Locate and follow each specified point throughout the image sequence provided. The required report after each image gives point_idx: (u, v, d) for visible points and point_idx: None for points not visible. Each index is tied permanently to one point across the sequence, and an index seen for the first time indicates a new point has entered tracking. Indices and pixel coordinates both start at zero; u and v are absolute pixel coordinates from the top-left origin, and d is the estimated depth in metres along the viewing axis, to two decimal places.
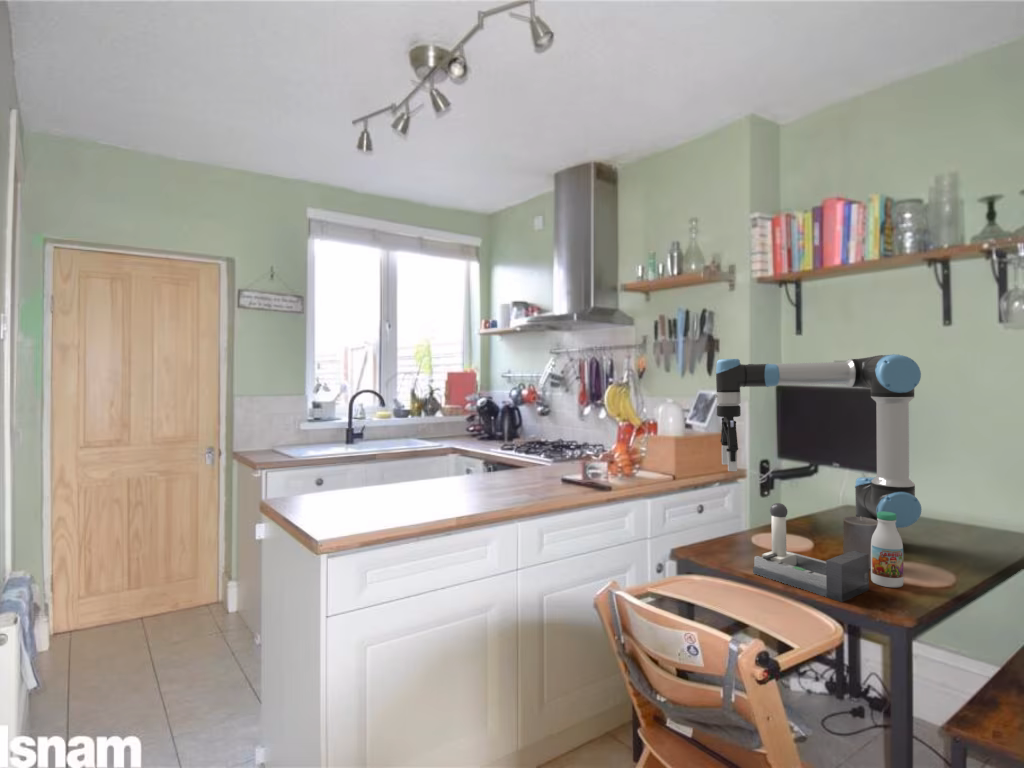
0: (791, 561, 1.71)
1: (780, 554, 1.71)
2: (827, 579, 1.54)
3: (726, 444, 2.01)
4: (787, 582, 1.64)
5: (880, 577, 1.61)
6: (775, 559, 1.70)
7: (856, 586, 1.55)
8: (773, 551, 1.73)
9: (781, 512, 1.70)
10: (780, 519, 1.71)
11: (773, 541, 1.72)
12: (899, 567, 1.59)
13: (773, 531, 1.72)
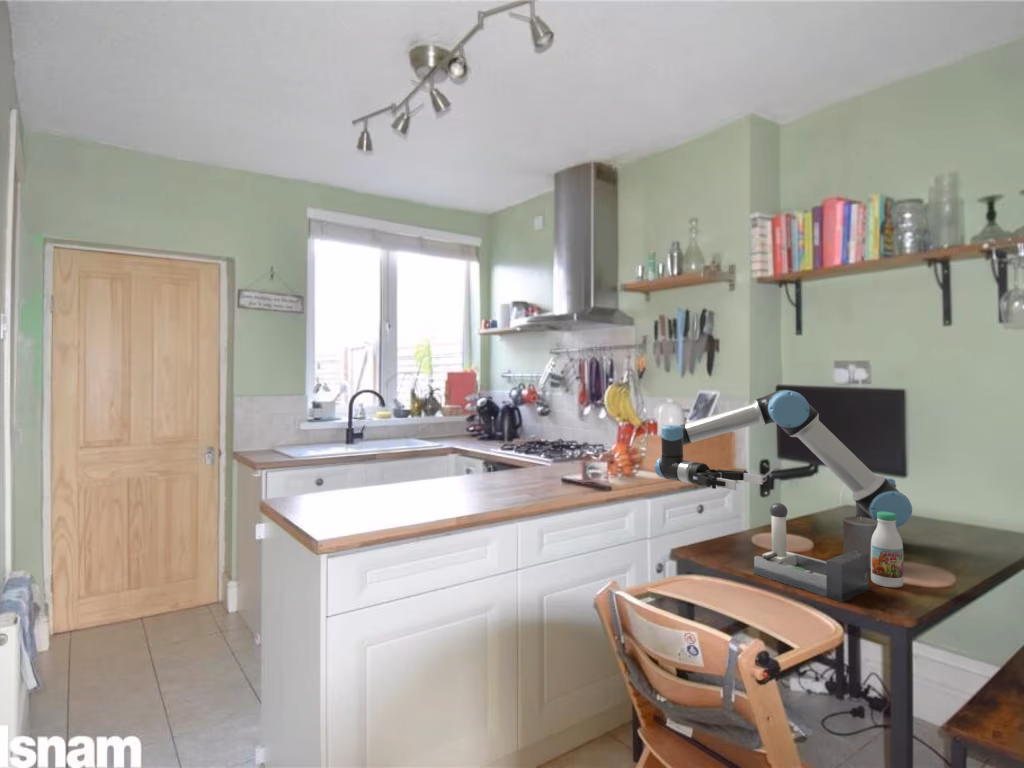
0: (791, 561, 1.71)
1: (780, 554, 1.71)
2: (827, 579, 1.54)
3: (743, 476, 1.90)
4: (787, 582, 1.64)
5: (880, 577, 1.61)
6: (775, 559, 1.70)
7: (856, 586, 1.55)
8: (773, 551, 1.73)
9: (781, 512, 1.70)
10: (780, 519, 1.71)
11: (773, 541, 1.72)
12: (899, 567, 1.59)
13: (773, 531, 1.72)
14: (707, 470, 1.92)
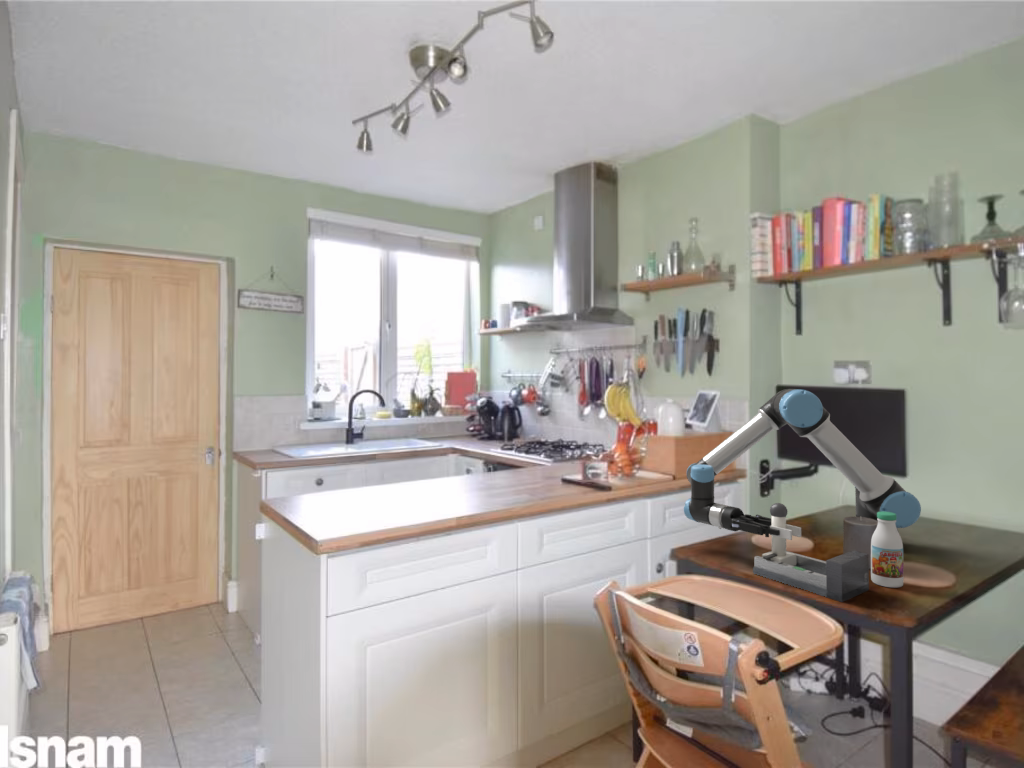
0: (791, 561, 1.71)
1: (780, 554, 1.71)
2: (827, 579, 1.54)
3: None
4: (787, 582, 1.64)
5: (880, 577, 1.61)
6: (775, 559, 1.70)
7: (856, 586, 1.55)
8: (773, 551, 1.73)
9: (781, 512, 1.70)
10: (780, 519, 1.71)
11: (773, 541, 1.72)
12: (899, 567, 1.59)
13: None
14: (742, 516, 1.82)
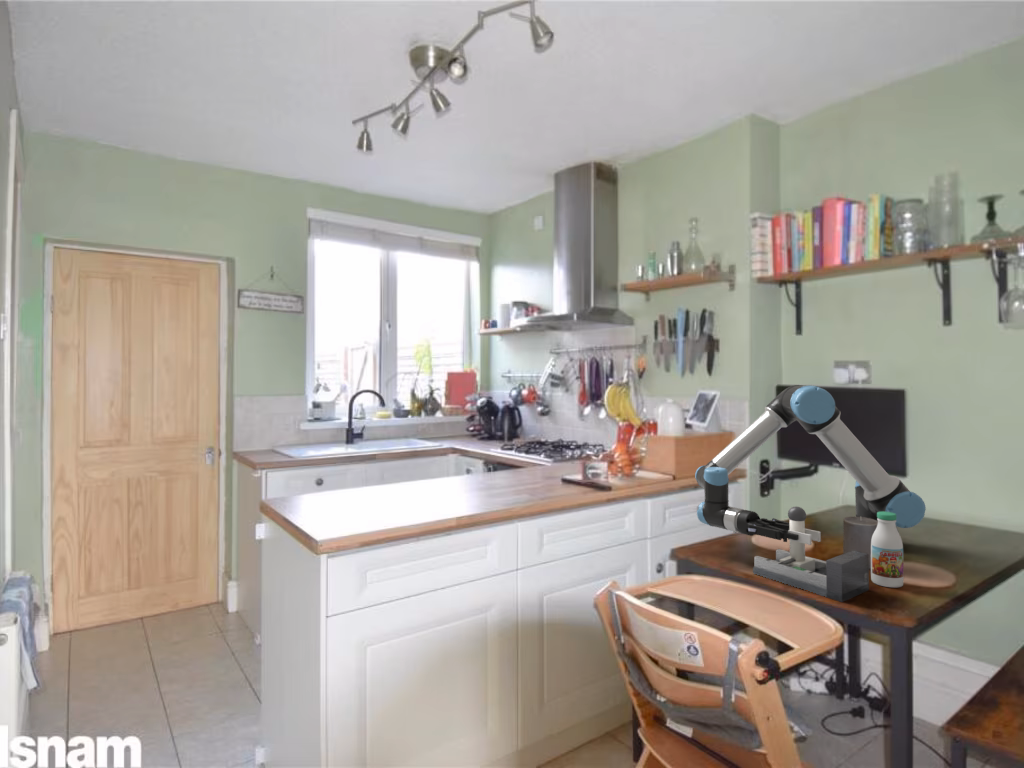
0: (810, 566, 1.67)
1: (799, 559, 1.66)
2: (827, 579, 1.54)
3: None
4: (787, 582, 1.64)
5: (880, 577, 1.61)
6: (794, 564, 1.65)
7: (856, 586, 1.55)
8: (791, 556, 1.68)
9: (800, 516, 1.66)
10: (799, 523, 1.66)
11: (791, 546, 1.68)
12: (899, 567, 1.59)
13: None
14: (758, 520, 1.77)
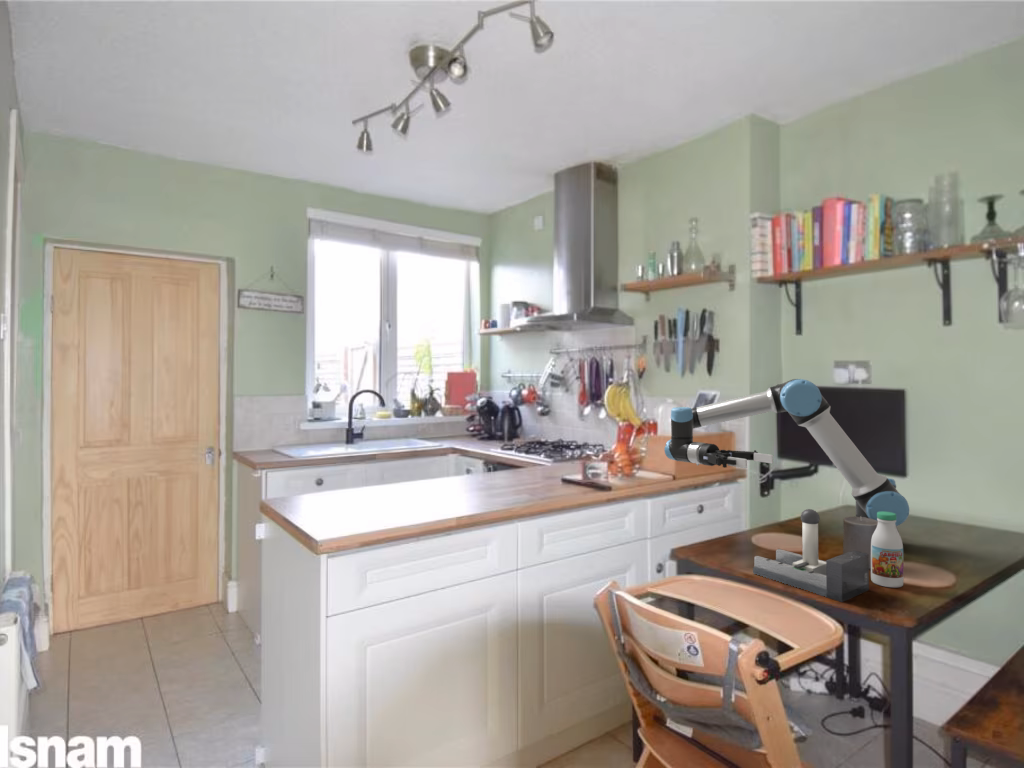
0: (823, 570, 1.63)
1: (812, 563, 1.63)
2: (827, 579, 1.54)
3: (753, 455, 1.92)
4: (787, 582, 1.64)
5: (880, 577, 1.61)
6: (807, 568, 1.62)
7: (856, 586, 1.55)
8: (804, 560, 1.64)
9: (813, 518, 1.62)
10: (812, 526, 1.63)
11: (804, 549, 1.64)
12: (899, 567, 1.59)
13: (804, 539, 1.64)
14: (717, 450, 1.94)
